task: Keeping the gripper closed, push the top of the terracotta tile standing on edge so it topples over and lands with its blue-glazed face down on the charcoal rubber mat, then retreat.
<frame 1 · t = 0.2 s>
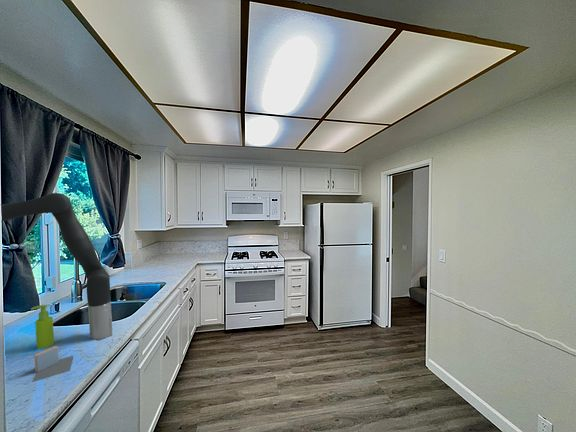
mat: (54, 369, 103), on the worktop
soap dispenser: (44, 346, 119), on the worktop
tile: (47, 366, 104), point 1 cm above the worktop, touching mat
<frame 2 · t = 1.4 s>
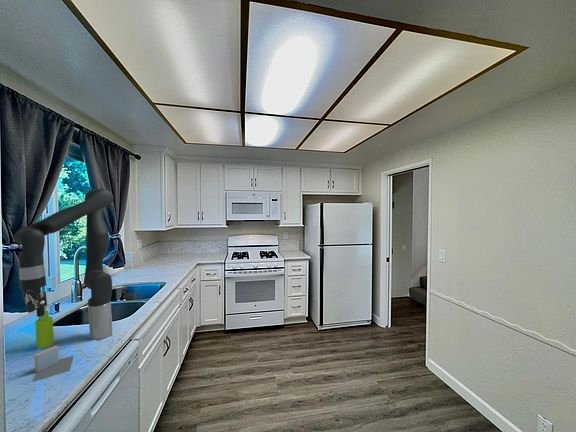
hand: (36, 313, 105), 22 cm above the worktop, fingers open, 8 cm apart
nothing on the worktop moved.
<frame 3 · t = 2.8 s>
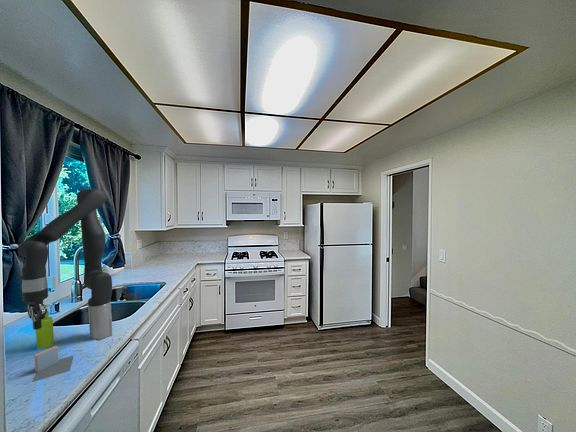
hand: (37, 328, 105), 16 cm above the worktop, fingers closed
nothing on the worktop moved.
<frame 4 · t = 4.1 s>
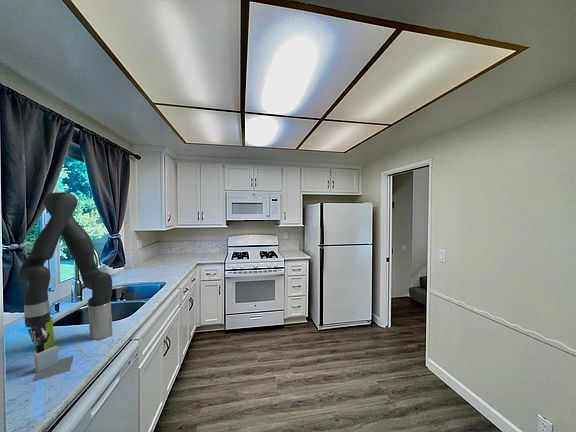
hand: (40, 352, 105), 6 cm above the worktop, fingers closed
nothing on the worktop moved.
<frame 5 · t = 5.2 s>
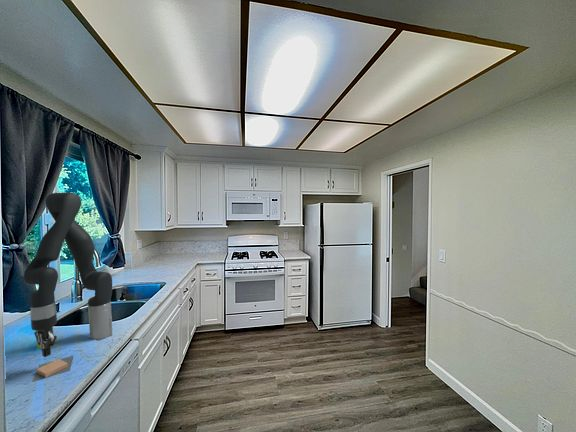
hand: (46, 355, 103), 6 cm above the worktop, fingers closed
tile: (48, 365, 103), point 1 cm above the worktop, tilted 90°, touching mat
everything else where it was.
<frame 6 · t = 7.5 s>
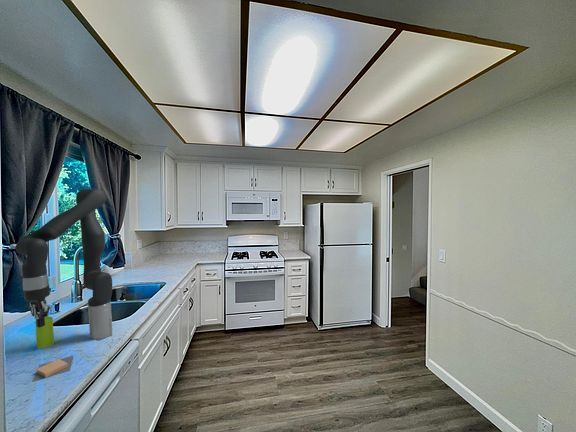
hand: (41, 326, 104), 17 cm above the worktop, fingers closed
nothing on the worktop moved.
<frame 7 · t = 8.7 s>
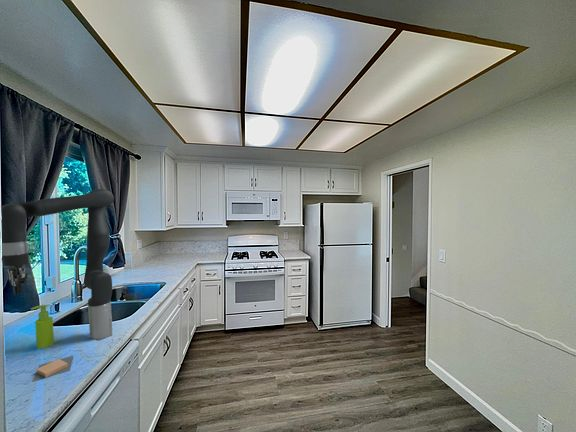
hand: (18, 294, 103), 31 cm above the worktop, fingers closed
nothing on the worktop moved.
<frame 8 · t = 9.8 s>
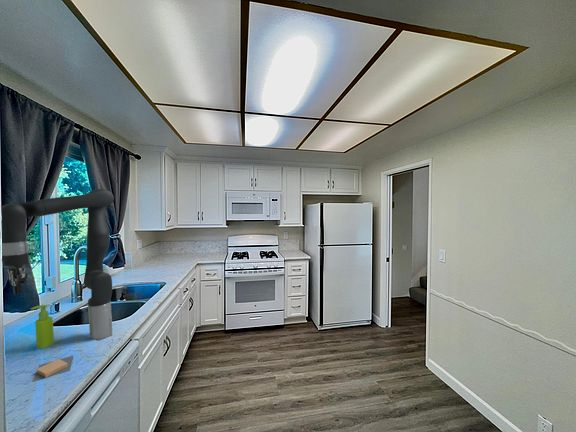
hand: (18, 294, 103), 31 cm above the worktop, fingers closed
nothing on the worktop moved.
at the end: tile tilted 90°; tile inside the target area on the mat (2.7 cm from its centre), point 1.5 cm above the mat's base; tile point 1.5 cm above the worktop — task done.
